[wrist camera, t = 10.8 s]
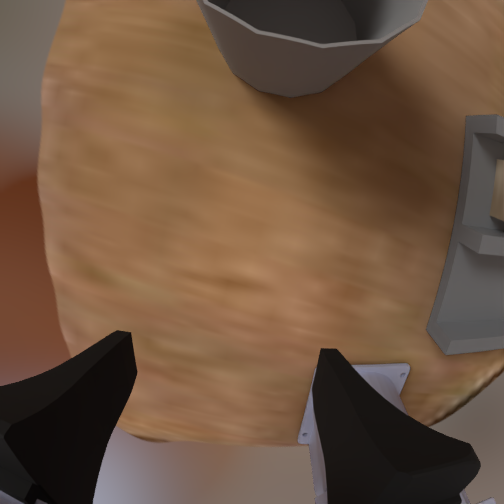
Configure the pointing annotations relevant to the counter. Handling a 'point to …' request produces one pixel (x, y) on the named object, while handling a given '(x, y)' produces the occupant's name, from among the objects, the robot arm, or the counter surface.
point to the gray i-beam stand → (474, 251)
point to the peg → (498, 192)
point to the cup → (303, 38)
